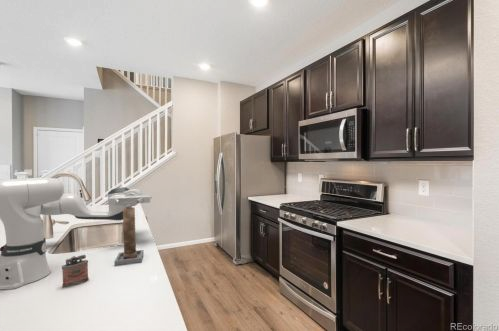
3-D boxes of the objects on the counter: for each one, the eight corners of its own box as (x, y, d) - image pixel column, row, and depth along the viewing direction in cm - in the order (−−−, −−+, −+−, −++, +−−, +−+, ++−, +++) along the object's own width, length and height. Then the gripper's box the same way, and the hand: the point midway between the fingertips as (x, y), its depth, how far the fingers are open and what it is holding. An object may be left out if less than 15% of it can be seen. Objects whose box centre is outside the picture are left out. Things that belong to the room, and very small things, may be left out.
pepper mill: (122, 261, 110) (120, 206, 110) (124, 256, 116) (122, 203, 115) (136, 259, 112) (134, 205, 111) (137, 255, 117) (136, 203, 117)
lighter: (62, 288, 89) (61, 261, 88) (61, 285, 91) (60, 258, 91) (89, 281, 94) (88, 255, 94) (87, 278, 97) (87, 252, 96)
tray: (114, 266, 107) (114, 261, 107) (119, 256, 117) (119, 252, 117) (141, 262, 110) (141, 258, 110) (143, 253, 120) (143, 249, 120)
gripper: (152, 202, 142) (150, 206, 129) (111, 205, 136) (105, 209, 123) (151, 191, 142) (149, 194, 129) (111, 193, 136) (105, 196, 123)
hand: (127, 201), depth 126 cm, fingers open, 8 cm apart
